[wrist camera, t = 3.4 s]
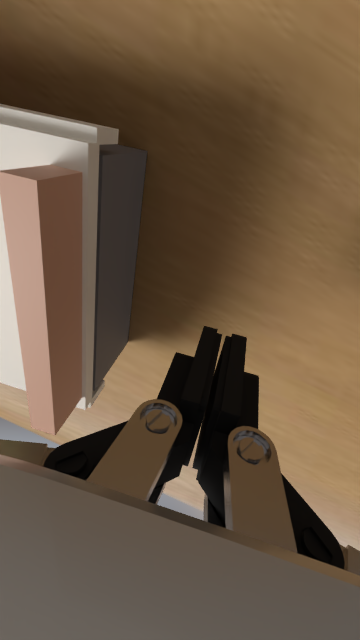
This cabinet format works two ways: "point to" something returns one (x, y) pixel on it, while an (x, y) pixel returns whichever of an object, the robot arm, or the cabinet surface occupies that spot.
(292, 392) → the cabinet surface
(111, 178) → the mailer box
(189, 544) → the robot arm
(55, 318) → the lid
